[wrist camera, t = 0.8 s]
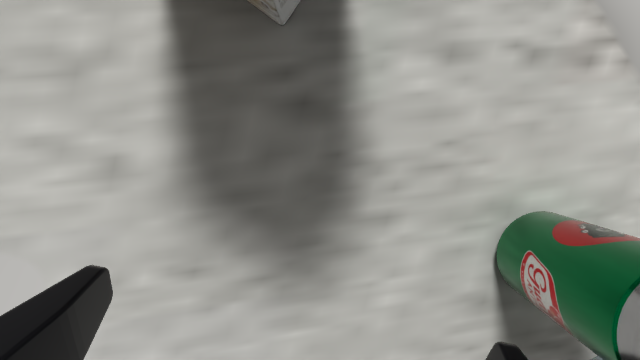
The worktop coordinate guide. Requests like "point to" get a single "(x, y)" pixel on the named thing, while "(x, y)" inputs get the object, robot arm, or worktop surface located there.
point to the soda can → (577, 279)
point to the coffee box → (276, 8)
